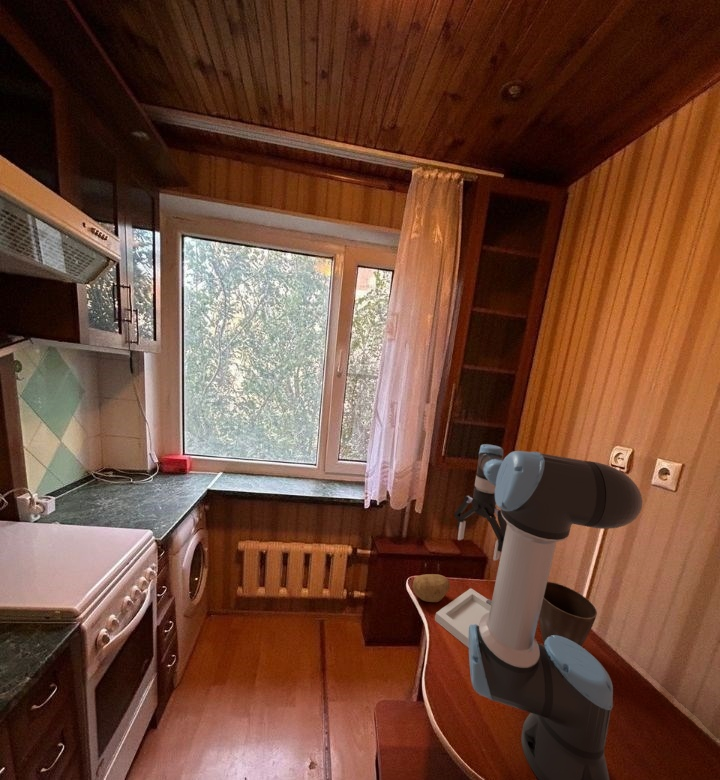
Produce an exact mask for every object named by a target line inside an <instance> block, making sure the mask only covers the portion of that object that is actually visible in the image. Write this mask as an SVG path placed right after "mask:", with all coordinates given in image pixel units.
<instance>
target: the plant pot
mask: <svg viewBox="0 0 720 780" xmlns="http://www.w3.org/2000/svg"><path fill="white" fill-rule="evenodd" d="M597 615H598V611H597V608H596V607H595V606H594V604H593V603H592V602H591V601H590V600H589V599H588V598H586V597H585V596H584V595H582V594H581V593H579V592H578V591H576V590H575V589H572V588H570V587H569V586H566V585H564V584H560V583H557V582H553V581H547V585H546V589H545V594H544V598H543V602H542V606H541V611H540V615H539V619H538V623H539V628H540V633H541V638H542V642H543V644H544V642H545V640H546V639H547V637H549V636H550V637H551V635H557V636H561V637H564V638H567V639H569V640H571V641H573V642H575V643H576V644H578V645H580V646H581V647H583V644H584V643H585V641H586V640H587V638H588V636H589V634H590V632H591V630H592V628H593V626H594V623H595V621H596V618H597Z"/></svg>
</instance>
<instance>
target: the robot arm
mask: <svg viewBox="0 0 720 780" xmlns="http://www.w3.org/2000/svg"><path fill="white" fill-rule="evenodd" d="M476 468H477V470H476V474H475V481H474V488H473V495H472V496H471V495H466V496H464V498H463V501H462V503H461V504H460V506H459V507H458V508H457V509H456V511H455V512H454V514H453V517H454V518H455V519H457V527H456V528H457V530H458V534H457V540H458V541H462V540H463V539H464V537H465V531H466V530H465V529H466V523H467V521H466V520H465V519H467V518H469V517H470V516H471V515H473V514H474V513H476V515H477V516H478V515H479V516H481V517H482V518H483V519H486V520H487V521H488V522H489V525H490V526H491V528H492V530H493V532H494V534H495V536H496V540H495V546H494V551H493V557H492V560H493V561H495V562H496V561H498V560H499V563H498V567H497V572H496V577H495V578H496V579H495V584H494V589H493V592H492V593H493V594H492V599H491V600H492V603H491V608H490V612H489V613H486V614H485V615H483V616H482V618H481V620H480V623H479V626H478V625H476V624H475V625H470V626H469V635H468V638H469V648H468V658H469V659H468V661H469V673H470V681H471V685H472V688H473V690H474V691H475V693H476V694H478V695H479V696H481V697H484V698H486V699H489V700H490V701H492V702H497V703H499V704H503V705H505V706H509V707H512V708H516V709H518V710H522V711H525V712H527V713H529V714H528V715H527V717H526V718H525V720H524V722H523V725H522V731H521V747H522V750H523V754H524V757H525V759H526V761H527V763H528V765H529V767H530V769H531V770H532V772H533V773H534V775H535V777H536V778H537V779H538V780H610V775H609V772H608V767H607V766H608V765H607V762H606V756H605V748H606V742H607V736H608V729H609V723H610V718H611V713H612V709H613V707H614V704H613V703H614V702H613V699H614V697H613V696H614V688H613V687H614V685H613V682H612V679H611V677H610V674H609V673H608V671H607V669H605V667H604V666H603V664H602V663H601V662H600V661H599V660H598V659H597V658H596V657H595V656H594V655H593V654H591V653H590V652H589V651H588V650H587V649H585V648H584V647H583V646H580V645H578V644H576V643H575V642H573V641H571V640H569V639H567V638H564V637H561V636H557V635H551V637H550V636H549V637H547V639H546V640H545V642H544V643H543V644H542V643H538V641H537V638H535V635H536V632H537V627H538V623H539V615H540V611H541V606H542V602H543V598H544V594H545V589H546V585H547V582H549V581H548V580H549V576H550V572H551V567H552V563H553V559H554V555H555V551H556V546H557V542H562V541H565V540H567V539H568V538H569V535H570V531H571V527H572V525H576V526H583V527H589V528H593V529H602V530H604V529H605V530H607V529H608V530H609V529H610V530H611V529H619V528H622V527H625V526H627V525H629V524H631V523H632V522H634V520H636V519H637V517H638V516H639V515H640V514H641V510H642V508H643V498H642V494H641V490H640V488H639V487H638V485H637V484H636V483H635V481H634V480H633V479H632V478H631V477H629V476H628V475H627V474H625V473H624V472H623V471H621V470H619V469H618V468H615V467H613V466H610V465H607V464H605V463H601V462H596V461H589V460H582V459H577V458H571V457H565V456H557V455H553V454H548V453H547V454H546V453H543V452H542V453H540V452H539V451H526V450H525V451H524V450H515V451H514V450H513V451H511V452H510V453H508V454H507V455H506V456H505V457H504V449H503V448H502V447H501V446H498V445H493V444H489V443H486V444H485V443H484V444H483V443H482V444H481V445H480V447H479V452H478V459H477V467H476ZM470 504H472V507H471V508H470V509H469V510H468V511H466V512H464V511H465V510H466V509H467V507H468V506H469V505H470ZM496 506H497V507H498V508H497V507H496ZM463 512H464V513H463ZM496 517H497V518H496Z"/></svg>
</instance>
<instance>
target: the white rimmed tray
mask: <svg viewBox="0 0 720 780" xmlns="http://www.w3.org/2000/svg"><path fill="white" fill-rule="evenodd" d="M491 603H492V599H490V598H487V597H485V596H484V595H482V594H481V593H479V592H477V591H476V590H474V589H473V588H471V587H470V588H468V590H466V591H465V592H463V593H461V595H459V596H457V597H456V598H455V599H453V600H452V601H451V602H449V603H448V604H446V605H445V606H443V607H442V608H440V609H439V610H438V611H436V612H435V616H434V622H436V623H437V624H439V625H440V626H441V627H442V628H444V629H445V630H446V631H447V632H448V633H450V634H451V635H452V636H454V638H456V639H457V640H458V641H459V642H461V643H462V644H463V645H464V646H465V647H467V648H468V649H469V638H468V635H469V626H470V625H475V624H476V625H478V626H479V623H480V620H481V618H482V616H483V615H485V614H486V613H489V612H490V608H491Z"/></svg>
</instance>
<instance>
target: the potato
mask: <svg viewBox="0 0 720 780" xmlns="http://www.w3.org/2000/svg"><path fill="white" fill-rule="evenodd" d="M412 589H413V591H414V593H415V595H416V596H417V597H418V598H419V599H420V600H421V601H424V602H426V603H427V602H429V603H438V602H441V601H442V600H443V599H444V597H445V596H446V595H447V593H448V591H449V590H450V581H449V579H448V578H447V577H446V576H444V575H442V574H434V573H431V574H430V573H428V574H421V575H418V576H415V577H414V579H413V582H412Z"/></svg>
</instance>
